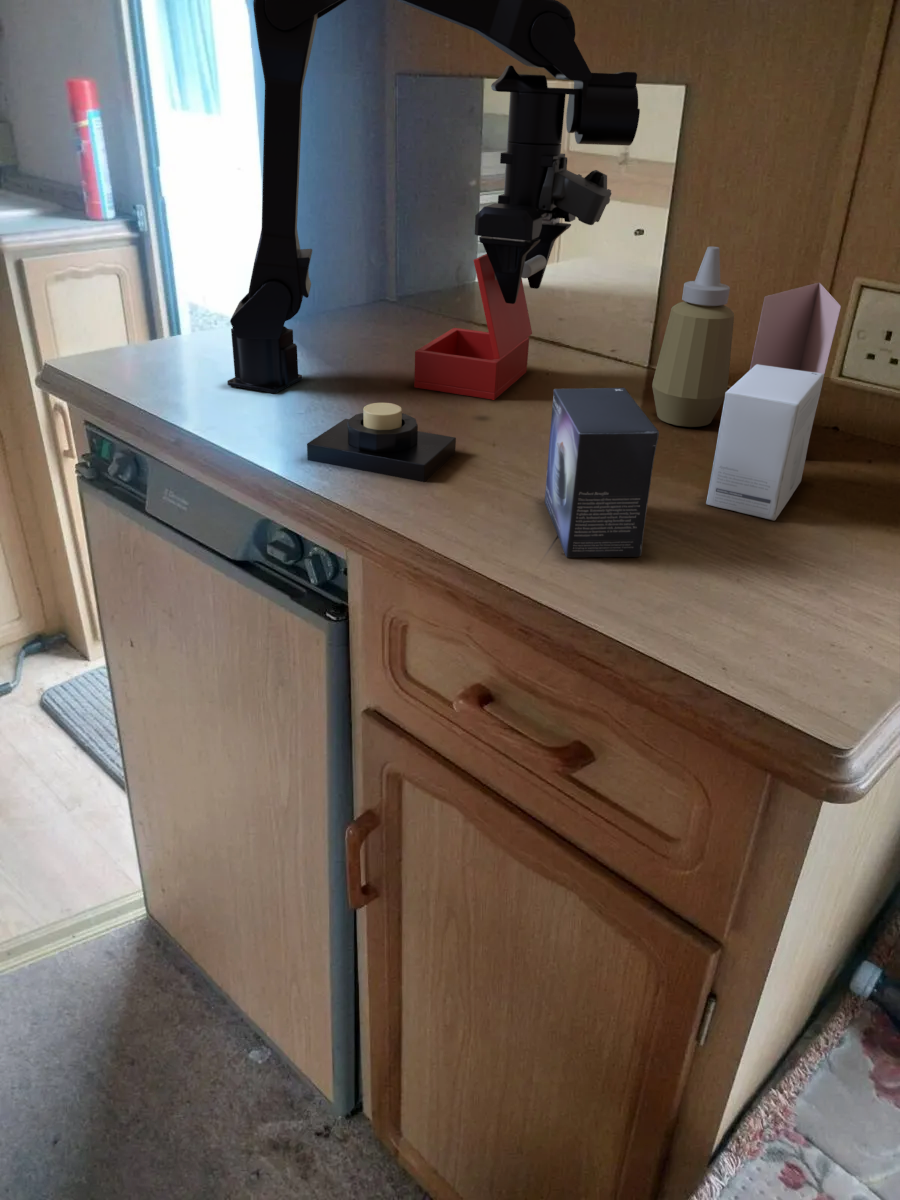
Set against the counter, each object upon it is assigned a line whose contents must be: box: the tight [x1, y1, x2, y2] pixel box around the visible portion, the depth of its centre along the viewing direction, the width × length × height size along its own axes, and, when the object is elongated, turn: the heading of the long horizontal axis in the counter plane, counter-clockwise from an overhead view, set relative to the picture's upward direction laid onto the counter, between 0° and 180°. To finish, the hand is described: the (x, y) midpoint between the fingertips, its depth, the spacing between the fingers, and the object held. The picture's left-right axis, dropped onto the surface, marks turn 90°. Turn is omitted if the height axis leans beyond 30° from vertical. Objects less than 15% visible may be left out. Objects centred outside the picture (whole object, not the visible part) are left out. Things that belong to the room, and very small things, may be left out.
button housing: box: [306, 412, 457, 483], centre depth 87 cm, size 12×8×4 cm, turn 69°
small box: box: [544, 387, 660, 558], centre depth 73 cm, size 11×6×10 cm, turn 5°
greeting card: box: [749, 282, 842, 375], centre depth 92 cm, size 11×7×15 cm, turn 135°
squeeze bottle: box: [651, 246, 735, 428], centre depth 96 cm, size 8×8×18 cm
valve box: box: [413, 327, 530, 401], centre depth 110 cm, size 10×13×4 cm
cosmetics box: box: [705, 364, 825, 521], centre depth 81 cm, size 10×6×10 cm, turn 150°
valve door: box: [473, 253, 547, 359], centre depth 104 cm, size 11×13×5 cm
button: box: [362, 402, 403, 430], centre depth 86 cm, size 4×4×2 cm
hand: (522, 295), depth 104 cm, fingers open, 9 cm apart
